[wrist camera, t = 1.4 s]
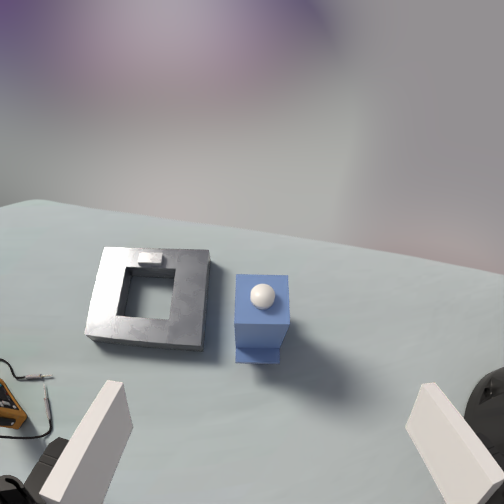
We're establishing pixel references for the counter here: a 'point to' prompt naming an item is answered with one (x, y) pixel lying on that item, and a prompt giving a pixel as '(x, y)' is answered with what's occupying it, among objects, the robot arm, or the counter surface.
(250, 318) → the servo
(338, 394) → the counter surface
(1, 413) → the multimeter
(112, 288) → the plate
